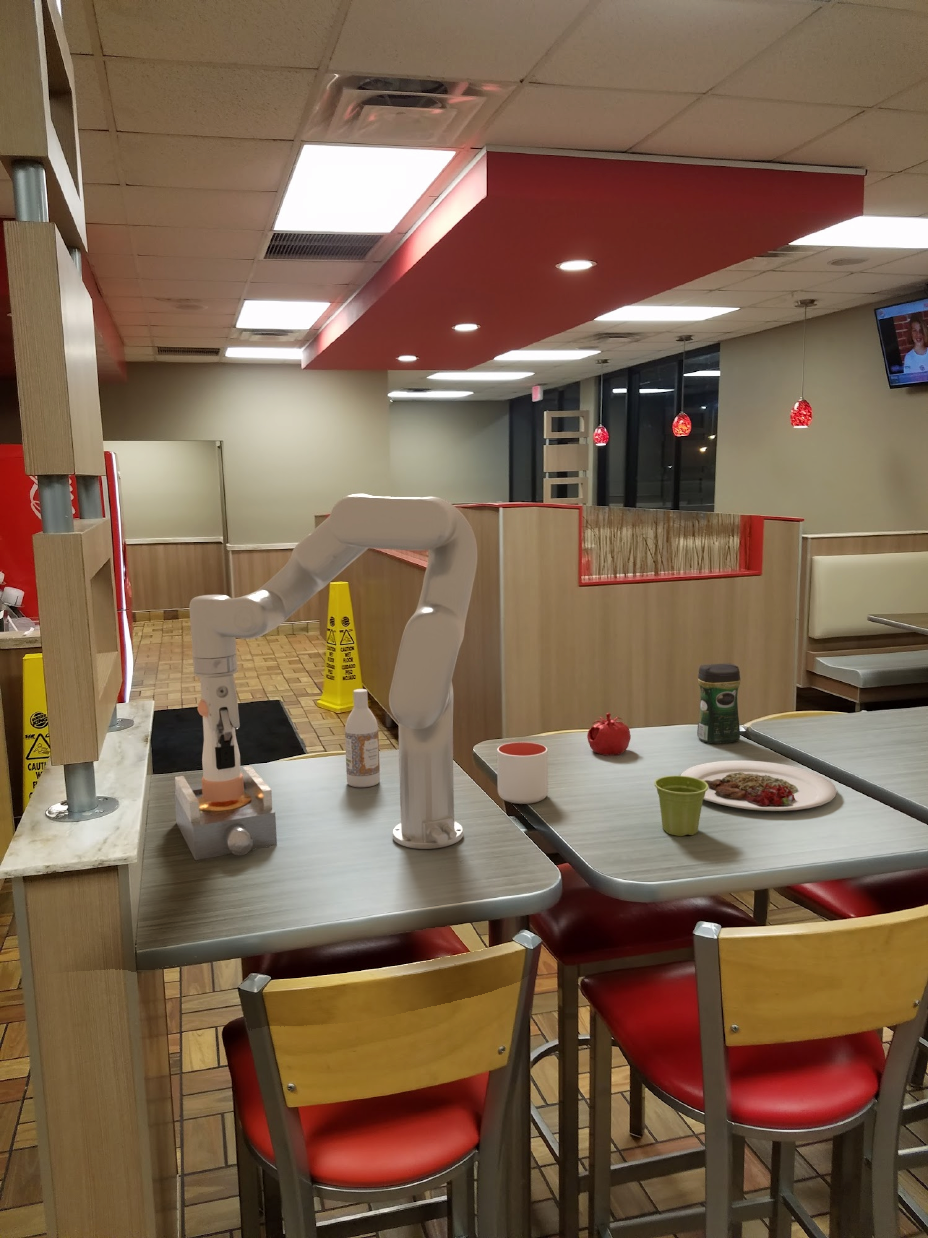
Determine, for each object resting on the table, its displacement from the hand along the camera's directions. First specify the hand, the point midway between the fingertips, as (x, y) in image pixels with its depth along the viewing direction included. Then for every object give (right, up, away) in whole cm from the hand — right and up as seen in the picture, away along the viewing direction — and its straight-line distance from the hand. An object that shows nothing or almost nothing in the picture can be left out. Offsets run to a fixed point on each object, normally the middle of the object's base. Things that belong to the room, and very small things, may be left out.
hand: (221, 761), depth 167 cm
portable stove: (+1, -14, 0) cm, 14 cm away
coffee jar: (+105, -4, +56) cm, 119 cm away
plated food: (+102, -9, +20) cm, 105 cm away
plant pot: (+82, -12, -1) cm, 83 cm away
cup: (+55, -10, +18) cm, 59 cm away
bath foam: (+22, -9, +29) cm, 38 cm away
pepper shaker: (0, -6, +1) cm, 6 cm away
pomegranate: (+77, -5, +49) cm, 91 cm away
